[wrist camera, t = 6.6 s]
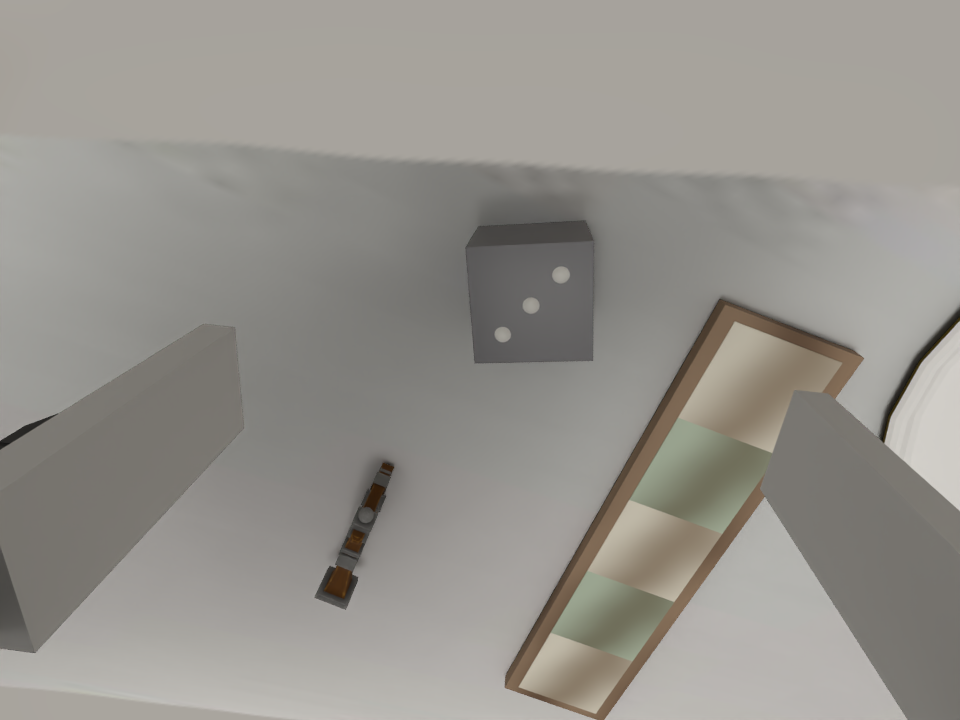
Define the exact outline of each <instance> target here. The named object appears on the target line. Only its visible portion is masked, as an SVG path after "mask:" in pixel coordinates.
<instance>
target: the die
mask: <svg viewBox="0 0 960 720" xmlns="http://www.w3.org/2000/svg"><path fill="white" fill-rule="evenodd" d="M466 259H467V272H468V285H469V297H470V310H471V323H472V336H473V348H474V361H475V363H513V362H557V361H593V298H594V240H593V237H592V235H591V233H590V231H589V228H588V226H587V224H586V221H570V222H551V223H532V224H514V225H495V226H479V227H478V228H477V230H476V231H475V233H474V235H473V236H472V238H471V239H470V241H469V243H468V244H467V246H466Z"/></svg>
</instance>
